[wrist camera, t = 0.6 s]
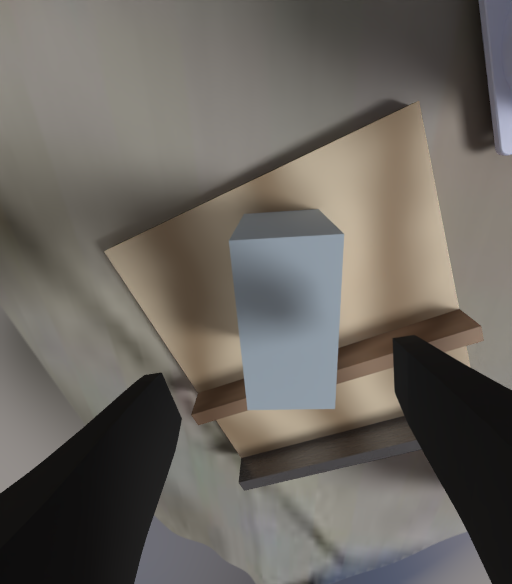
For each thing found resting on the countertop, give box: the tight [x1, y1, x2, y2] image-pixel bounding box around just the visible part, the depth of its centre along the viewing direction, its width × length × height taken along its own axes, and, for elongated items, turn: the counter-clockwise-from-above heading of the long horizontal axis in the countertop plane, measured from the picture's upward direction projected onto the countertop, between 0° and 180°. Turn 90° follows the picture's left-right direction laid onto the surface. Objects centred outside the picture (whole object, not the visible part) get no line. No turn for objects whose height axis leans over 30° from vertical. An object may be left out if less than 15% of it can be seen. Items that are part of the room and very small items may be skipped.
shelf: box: [104, 101, 484, 458], centre depth 18 cm, size 18×20×3 cm
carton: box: [229, 209, 344, 410], centre depth 14 cm, size 8×4×6 cm, turn 4°
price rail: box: [239, 416, 421, 491], centre depth 21 cm, size 18×1×2 cm, turn 114°
